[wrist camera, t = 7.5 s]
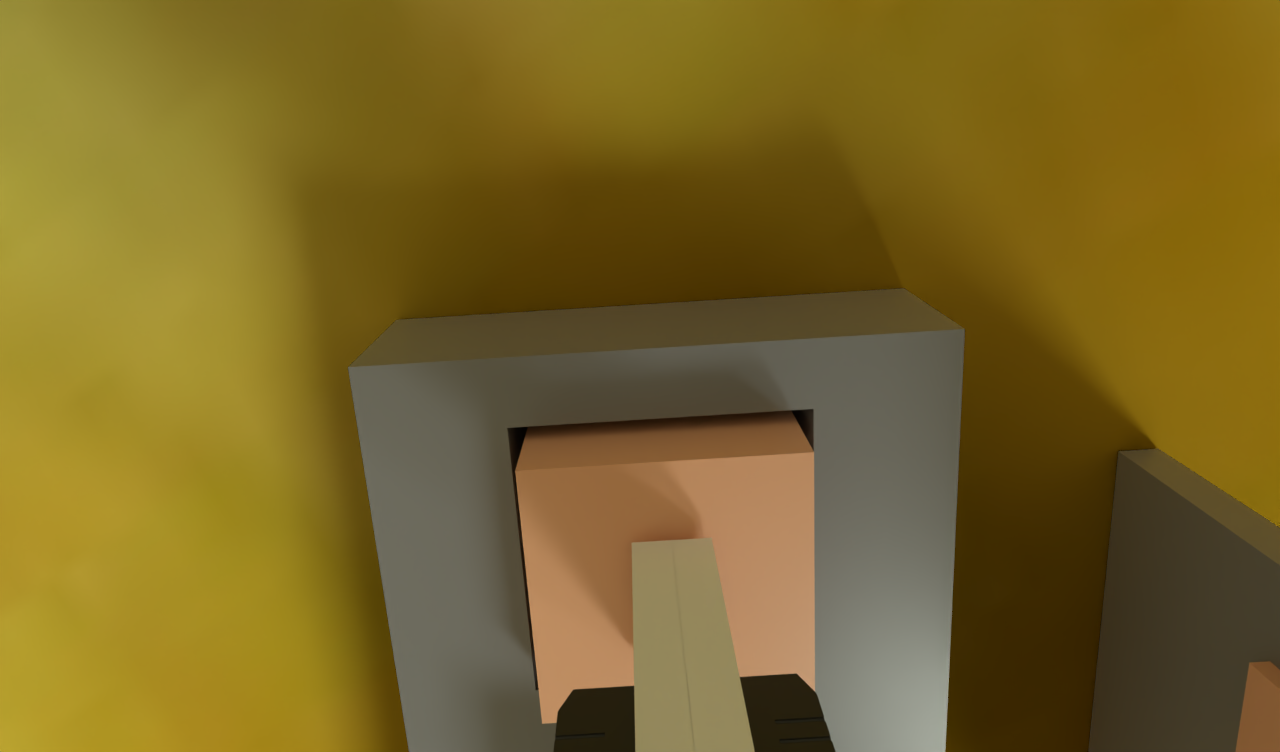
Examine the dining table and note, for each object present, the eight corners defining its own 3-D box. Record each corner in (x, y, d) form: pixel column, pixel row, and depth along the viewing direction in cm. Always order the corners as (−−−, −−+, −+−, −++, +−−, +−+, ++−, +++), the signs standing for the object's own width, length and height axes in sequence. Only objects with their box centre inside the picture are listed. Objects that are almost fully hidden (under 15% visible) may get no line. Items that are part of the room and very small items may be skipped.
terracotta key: (781, 602, 22) (815, 706, 18) (556, 615, 22) (542, 723, 18) (778, 386, 21) (814, 452, 17) (534, 402, 21) (515, 470, 17)
